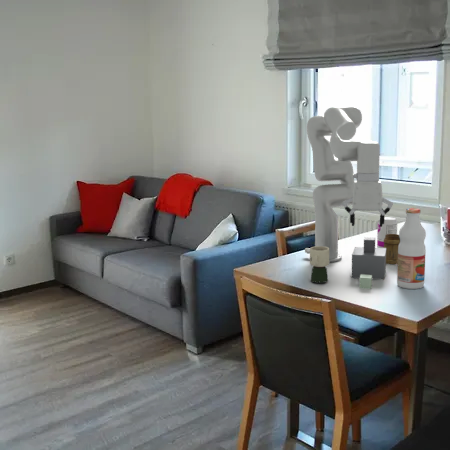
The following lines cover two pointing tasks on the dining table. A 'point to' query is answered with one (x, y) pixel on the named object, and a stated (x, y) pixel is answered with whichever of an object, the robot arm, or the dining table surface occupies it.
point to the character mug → (319, 263)
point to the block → (366, 281)
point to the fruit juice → (411, 252)
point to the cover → (369, 260)
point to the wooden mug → (391, 248)
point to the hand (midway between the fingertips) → (367, 225)
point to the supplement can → (386, 230)
